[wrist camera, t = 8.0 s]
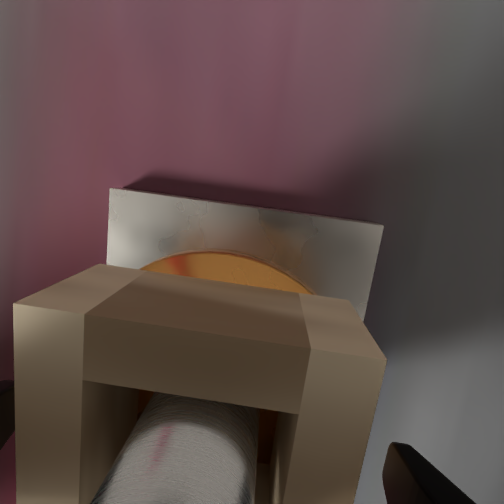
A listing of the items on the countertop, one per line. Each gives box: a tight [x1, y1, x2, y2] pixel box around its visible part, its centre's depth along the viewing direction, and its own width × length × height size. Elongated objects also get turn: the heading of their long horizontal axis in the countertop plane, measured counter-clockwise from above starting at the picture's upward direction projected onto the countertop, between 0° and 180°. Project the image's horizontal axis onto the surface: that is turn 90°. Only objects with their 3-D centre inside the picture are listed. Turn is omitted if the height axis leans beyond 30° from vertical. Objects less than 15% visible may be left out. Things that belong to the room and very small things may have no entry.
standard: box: [90, 188, 384, 504], centre depth 9 cm, size 10×10×10 cm
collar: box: [13, 264, 387, 504], centre depth 8 cm, size 7×7×3 cm
